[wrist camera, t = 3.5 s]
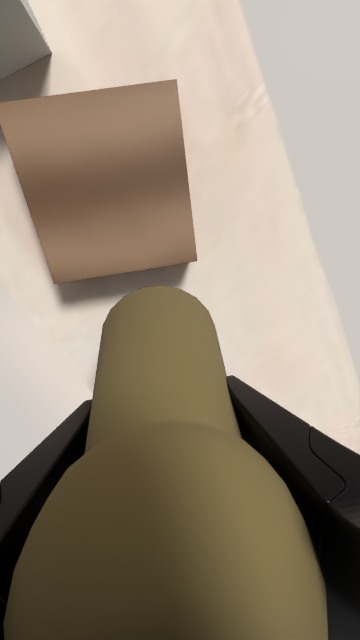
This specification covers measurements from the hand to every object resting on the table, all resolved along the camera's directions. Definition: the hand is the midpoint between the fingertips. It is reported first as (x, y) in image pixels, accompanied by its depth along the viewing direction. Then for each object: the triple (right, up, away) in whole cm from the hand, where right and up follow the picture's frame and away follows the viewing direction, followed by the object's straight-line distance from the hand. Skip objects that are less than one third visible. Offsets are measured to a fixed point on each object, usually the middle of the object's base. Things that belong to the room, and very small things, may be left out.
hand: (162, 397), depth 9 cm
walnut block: (-4, +12, +9) cm, 16 cm away
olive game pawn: (0, +2, +4) cm, 5 cm away
